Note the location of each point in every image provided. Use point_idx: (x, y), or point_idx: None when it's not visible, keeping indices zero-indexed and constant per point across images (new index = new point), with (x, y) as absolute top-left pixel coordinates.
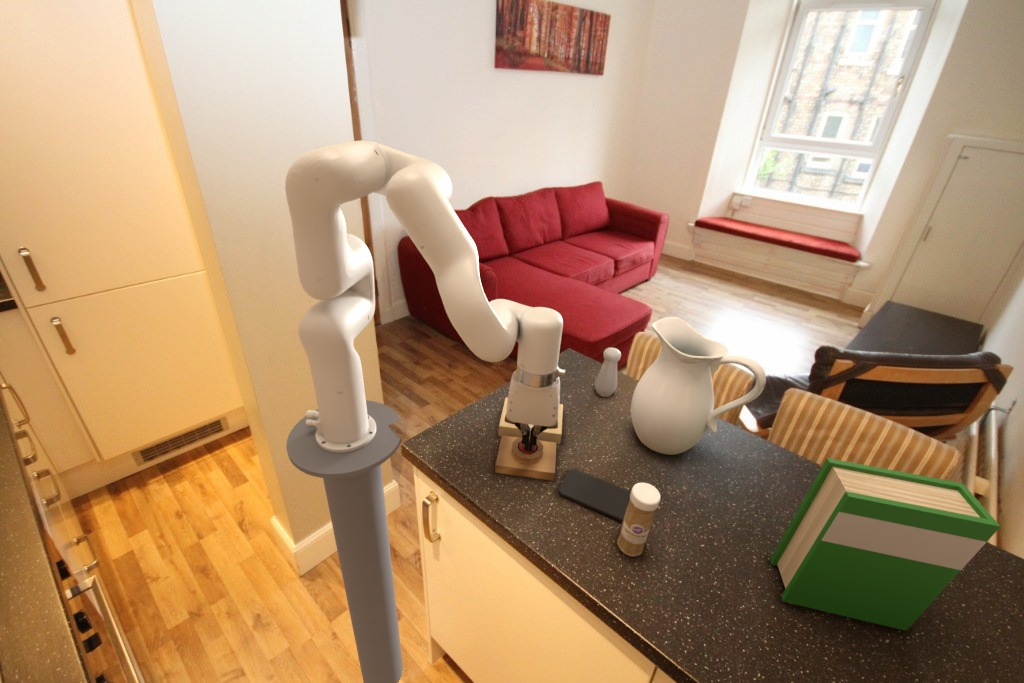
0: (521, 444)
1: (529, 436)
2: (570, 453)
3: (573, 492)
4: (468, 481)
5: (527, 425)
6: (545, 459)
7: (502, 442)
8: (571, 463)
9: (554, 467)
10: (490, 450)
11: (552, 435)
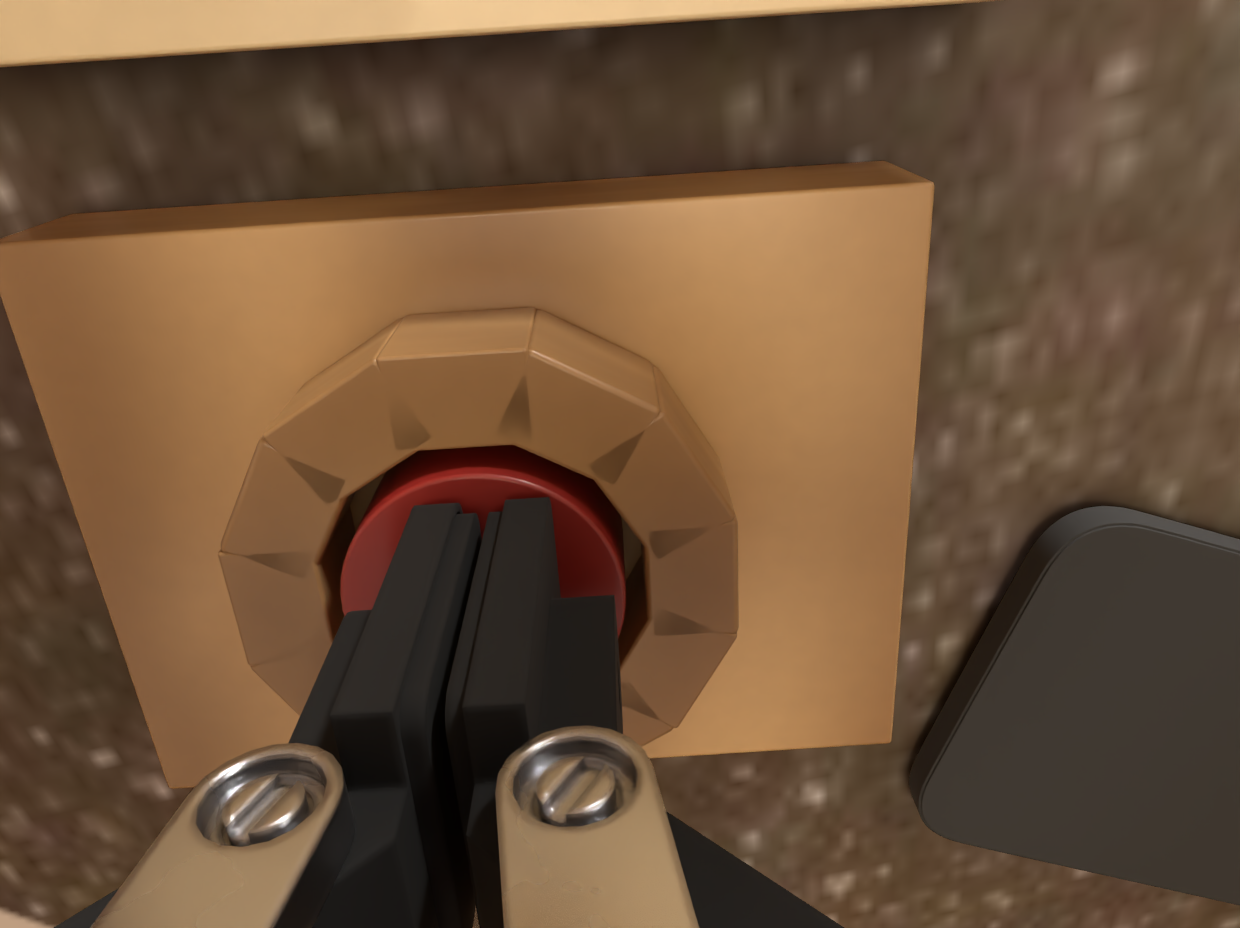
0: (373, 597)
1: (463, 598)
2: (1110, 167)
3: (1068, 810)
4: (19, 846)
5: (332, 911)
6: (769, 571)
7: (73, 407)
8: (1096, 359)
9: (891, 667)
10: (2, 399)
11: (869, 8)
